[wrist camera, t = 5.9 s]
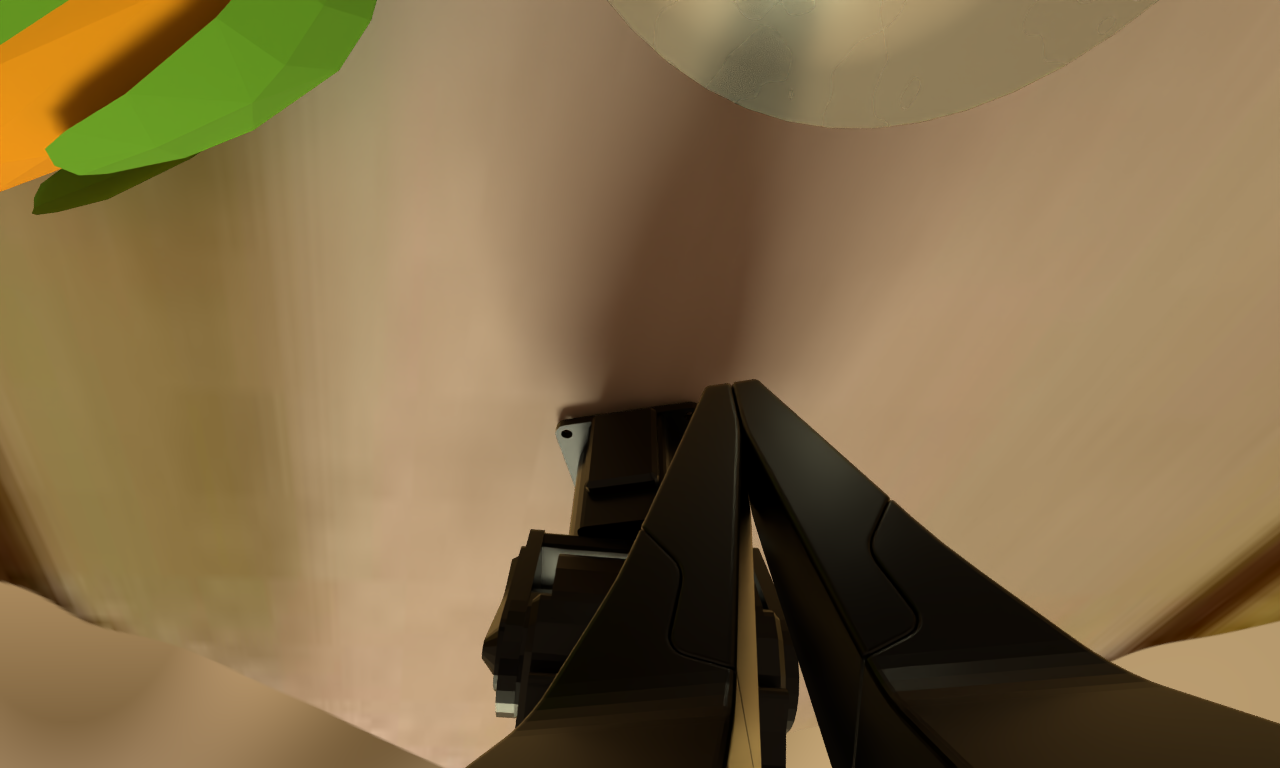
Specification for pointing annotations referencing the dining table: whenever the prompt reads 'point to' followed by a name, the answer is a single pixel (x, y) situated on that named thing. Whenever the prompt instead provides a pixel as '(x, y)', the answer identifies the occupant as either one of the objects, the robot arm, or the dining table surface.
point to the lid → (871, 51)
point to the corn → (151, 83)
